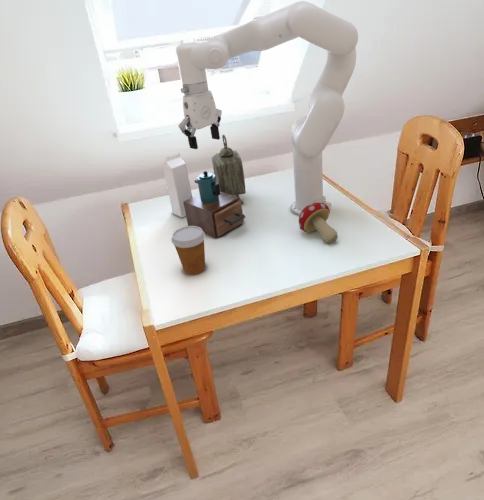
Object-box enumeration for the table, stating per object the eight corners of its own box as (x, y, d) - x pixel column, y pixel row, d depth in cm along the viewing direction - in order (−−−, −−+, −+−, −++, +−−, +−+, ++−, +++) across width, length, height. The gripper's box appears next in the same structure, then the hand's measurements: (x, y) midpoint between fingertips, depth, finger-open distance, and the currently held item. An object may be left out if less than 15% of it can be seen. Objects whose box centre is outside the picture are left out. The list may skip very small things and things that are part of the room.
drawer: (252, 225, 147) (249, 204, 143) (227, 239, 140) (224, 218, 136) (218, 212, 157) (214, 192, 153) (193, 225, 150) (189, 205, 146)
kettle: (226, 199, 145) (222, 170, 140) (213, 206, 142) (208, 177, 137) (204, 192, 152) (200, 164, 147) (191, 198, 149) (186, 170, 143)
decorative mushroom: (344, 221, 127) (314, 189, 135) (314, 246, 128) (287, 213, 136) (353, 235, 136) (325, 205, 144) (325, 258, 137) (298, 227, 145)
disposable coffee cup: (197, 281, 124) (189, 244, 117) (171, 273, 128) (163, 237, 122) (217, 263, 130) (211, 228, 124) (192, 257, 135) (185, 222, 129)
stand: (242, 222, 151) (239, 197, 146) (215, 238, 143) (211, 212, 138) (214, 212, 159) (210, 188, 154) (188, 226, 152) (183, 201, 147)
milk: (195, 212, 162) (184, 154, 150) (181, 218, 158) (170, 159, 147) (185, 207, 166) (174, 151, 154) (172, 213, 162) (160, 156, 151)
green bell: (247, 205, 162) (239, 139, 148) (223, 210, 160) (213, 143, 147) (239, 190, 174) (231, 128, 161) (217, 195, 172) (207, 132, 159)
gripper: (181, 96, 125) (192, 154, 134) (224, 82, 135) (232, 136, 144) (165, 94, 129) (177, 150, 138) (207, 81, 140) (216, 134, 149)
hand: (205, 143), depth 141 cm, fingers open, 9 cm apart
